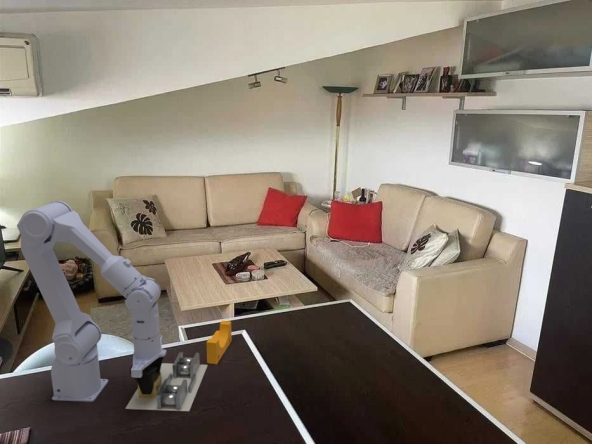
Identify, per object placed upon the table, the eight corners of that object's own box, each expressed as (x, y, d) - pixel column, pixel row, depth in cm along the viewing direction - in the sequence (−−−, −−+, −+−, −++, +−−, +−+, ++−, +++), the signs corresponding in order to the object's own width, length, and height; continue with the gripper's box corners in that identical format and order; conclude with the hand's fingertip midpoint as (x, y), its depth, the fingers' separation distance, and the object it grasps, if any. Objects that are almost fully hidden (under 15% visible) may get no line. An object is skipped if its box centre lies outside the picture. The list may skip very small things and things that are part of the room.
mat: (125, 409, 98) (125, 408, 98) (153, 364, 116) (153, 362, 116) (189, 412, 98) (189, 411, 98) (207, 365, 115) (207, 364, 115)
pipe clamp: (216, 340, 128) (216, 320, 126) (231, 342, 127) (231, 321, 126) (200, 363, 117) (199, 341, 115) (216, 365, 116) (216, 343, 114)
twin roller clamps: (154, 408, 98) (153, 394, 98) (177, 364, 115) (176, 352, 115) (183, 410, 98) (182, 396, 97) (202, 365, 115) (201, 352, 114)
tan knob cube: (138, 397, 102) (137, 380, 101) (145, 386, 106) (144, 370, 105) (156, 398, 102) (155, 381, 101) (162, 387, 106) (161, 371, 105)
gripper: (153, 351, 93) (157, 408, 97) (174, 319, 107) (176, 369, 111) (119, 350, 93) (124, 407, 97) (144, 318, 107) (148, 368, 111)
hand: (150, 387), depth 104 cm, fingers closed on tan knob cube, 4 cm apart
